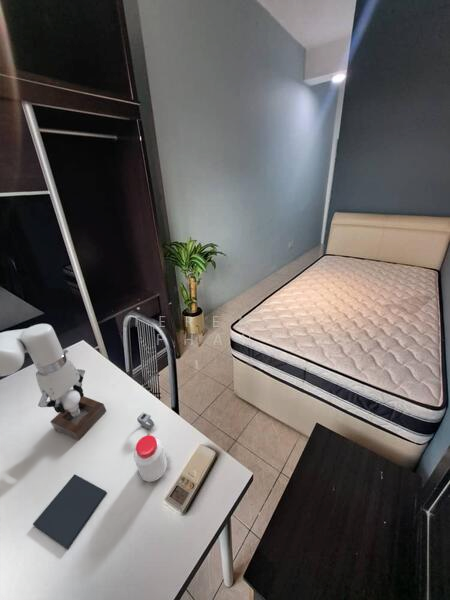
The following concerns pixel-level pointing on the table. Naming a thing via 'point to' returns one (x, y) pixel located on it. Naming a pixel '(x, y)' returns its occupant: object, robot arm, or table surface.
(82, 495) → the mat
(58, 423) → the socket block
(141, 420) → the wristwatch
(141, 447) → the pill bottle
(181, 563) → the table surface
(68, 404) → the lightbulb
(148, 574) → the table surface
